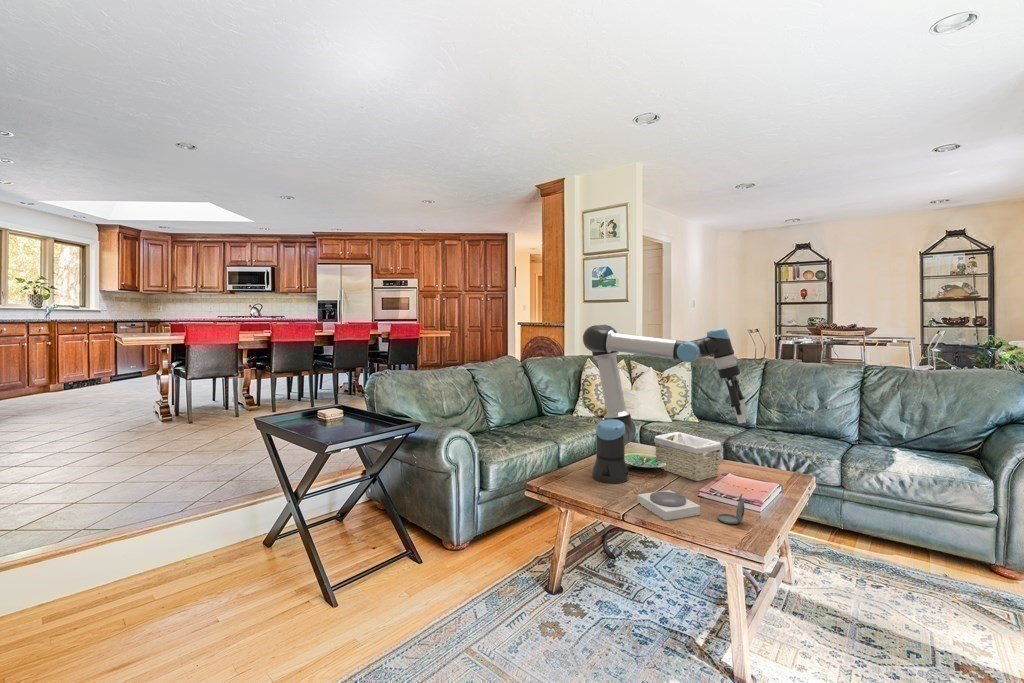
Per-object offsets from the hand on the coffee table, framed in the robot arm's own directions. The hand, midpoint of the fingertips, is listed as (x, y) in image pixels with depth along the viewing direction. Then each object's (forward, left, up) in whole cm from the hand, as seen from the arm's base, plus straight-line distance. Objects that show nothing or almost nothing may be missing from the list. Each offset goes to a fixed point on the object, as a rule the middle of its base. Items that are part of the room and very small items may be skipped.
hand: (743, 419), depth 182 cm
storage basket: (-23, -8, -28) cm, 37 cm away
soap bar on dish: (+7, -40, -27) cm, 49 cm away
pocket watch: (+23, -27, -27) cm, 45 cm away
